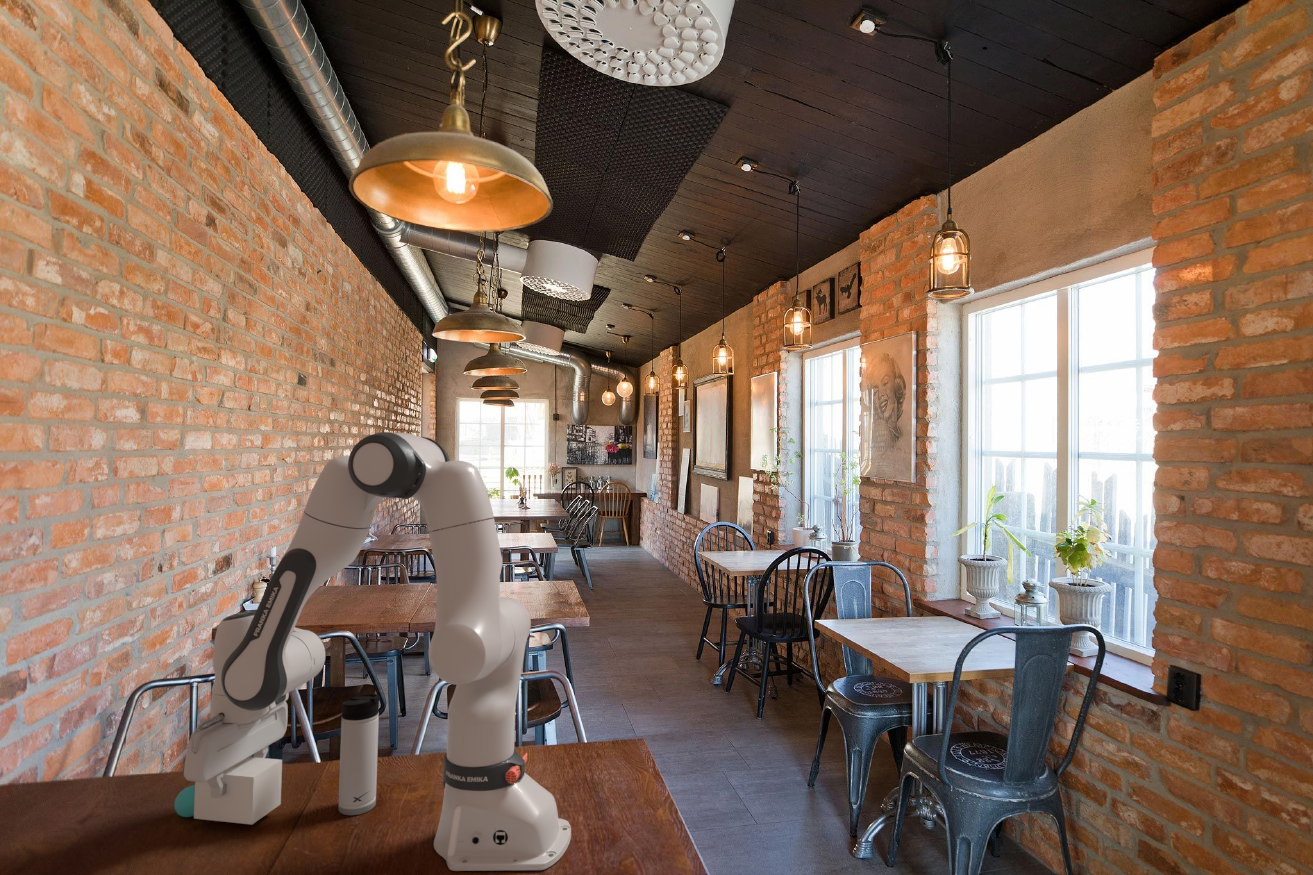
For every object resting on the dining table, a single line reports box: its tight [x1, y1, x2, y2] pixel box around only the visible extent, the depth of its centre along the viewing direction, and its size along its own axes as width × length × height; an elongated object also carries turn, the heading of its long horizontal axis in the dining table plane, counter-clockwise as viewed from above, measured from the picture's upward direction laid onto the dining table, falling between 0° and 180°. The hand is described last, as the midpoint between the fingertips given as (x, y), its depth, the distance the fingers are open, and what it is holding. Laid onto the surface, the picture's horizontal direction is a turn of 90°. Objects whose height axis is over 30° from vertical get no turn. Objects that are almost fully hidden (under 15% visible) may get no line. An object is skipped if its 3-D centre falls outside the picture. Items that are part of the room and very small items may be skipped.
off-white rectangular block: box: [193, 756, 283, 825], centre depth 121 cm, size 11×7×8 cm, turn 81°
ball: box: [174, 784, 195, 818], centre depth 122 cm, size 5×5×5 cm
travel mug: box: [338, 693, 381, 816], centre depth 126 cm, size 6×7×20 cm
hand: (237, 784), depth 121 cm, fingers closed on off-white rectangular block, 7 cm apart
